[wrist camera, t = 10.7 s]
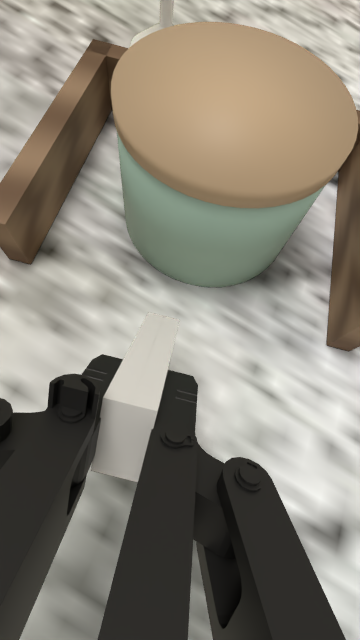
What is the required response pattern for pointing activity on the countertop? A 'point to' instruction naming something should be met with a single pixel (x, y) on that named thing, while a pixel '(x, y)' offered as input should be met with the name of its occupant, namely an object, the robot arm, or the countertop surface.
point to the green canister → (224, 146)
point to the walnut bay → (73, 148)
